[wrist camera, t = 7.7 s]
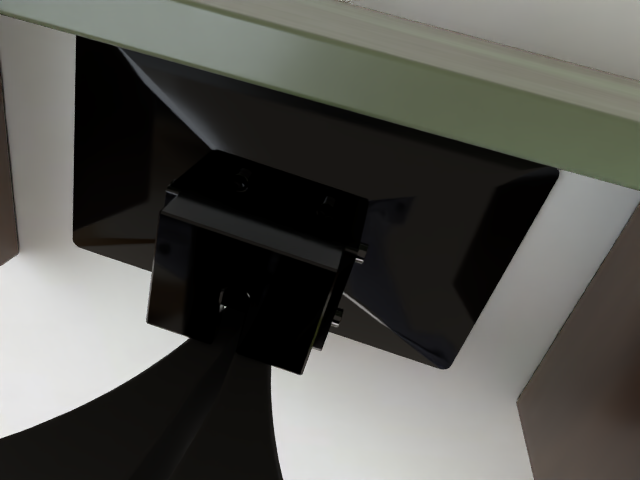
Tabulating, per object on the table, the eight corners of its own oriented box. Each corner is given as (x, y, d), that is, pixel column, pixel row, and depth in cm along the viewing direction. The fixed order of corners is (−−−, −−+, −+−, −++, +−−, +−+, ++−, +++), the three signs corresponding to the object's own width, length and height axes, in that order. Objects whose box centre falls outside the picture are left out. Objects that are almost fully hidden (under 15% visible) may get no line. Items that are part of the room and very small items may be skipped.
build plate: (80, 238, 16) (-37, 327, 12) (87, -4, 12) (-79, 4, 8) (447, 365, 15) (455, 501, 11) (566, 154, 12) (640, 243, 8)
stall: (539, 409, 16) (600, 624, 10) (-2, 247, 16) (-197, 372, 11) (739, 107, 11) (1042, 231, 6) (-47, -103, 12) (-429, -167, 6)
